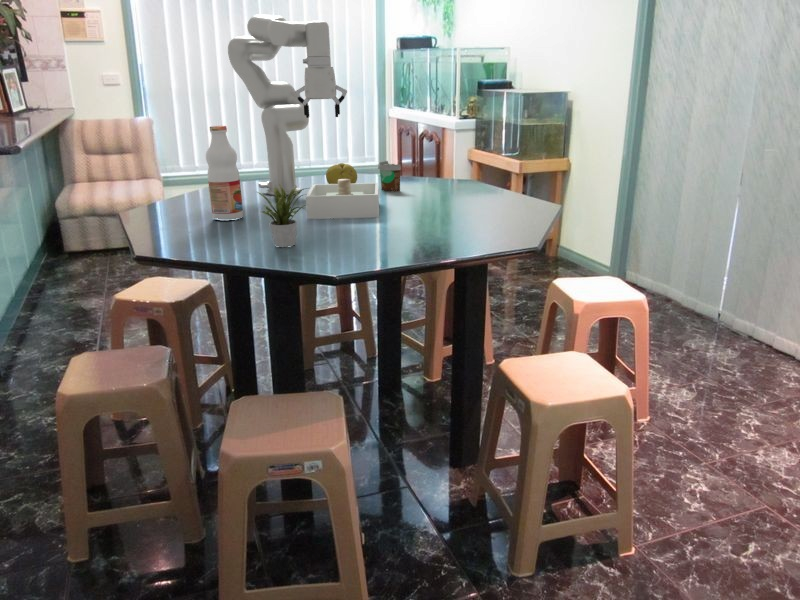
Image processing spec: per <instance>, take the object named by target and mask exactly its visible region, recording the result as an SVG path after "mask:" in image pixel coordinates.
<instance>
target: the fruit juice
mask: <svg viewBox="0 0 800 600" xmlns="http://www.w3.org/2000/svg"><path fill="white" fill-rule="evenodd" d="M209 132H210V135H211V140H210V145H209V146H208V149H207V150H206V153H205V160H206V163H207V166H208V169H207V182H208V191H209V192H208V193H209V197H210V199H209V200H210V205H211V207H210V208H211V215H212V219H213V218H218V219H236V218H241V217H243V218H244V207H243V197H242V196H243V195H242V189H241V179H240V172H239V168H238V167H237V160H238V155H237V152H236V150H235V149H234V148H233V147H232V145H231V144H230V142H229V139H228V135H227V132H228V128H227V125H211V126H209Z"/></svg>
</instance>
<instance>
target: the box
mask: <svg viewBox="0 0 800 600" xmlns="http://www.w3.org/2000/svg"><path fill="white" fill-rule="evenodd" d="M350 185H351V195H338V184H329V183H325V184H324V183H319V184H316V183H315V184H312V186H311V187H309V190H308V191H307V193H306V194H307V195H305V205H306V206H305V208H306V209H305V211H306V220H329V219H330V218H331V219H333V218H334V219H361V218H364V219H365V218H379V217H380V189H379V188H380V187H379V182H362V183H361V182H360V183H358V182H356V183H352V184H350Z"/></svg>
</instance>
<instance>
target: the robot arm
mask: <svg viewBox="0 0 800 600" xmlns="http://www.w3.org/2000/svg"><path fill="white" fill-rule="evenodd" d="M246 24H247V25H246V27H247V32H248V34H249V35H242V36H236V37H233V38H231V40H229V42H228V44H227V45H228V46H227V55H228V60H229V63H230V66H231V67H232V69H233V70H234V72H235V73H236V74H237V76H238V77H239V78H240V79H241V80H242V82H243V83H244V86H245V87H246V89H247V91H248V92H249V93H248V94H249V95H250V97H252V100H253V102H254V103H255V104H256V105H257V107H258V108H260V109H263V110H262V112H261V124H262V127H263V131H264V135H265V136H264V137H265V142H266V151H267V162H268V164H267V165H268V171H269V172H268V175H269V180H268V181H266V182H258V188H261V189H266V188H267V190H266V194H267V195H271V196H275V192H274V188H277V187H278V189H279V191H280V194H281V189H280V186H279V184H280V185H281V186H282V188H283V190H284V191H285V192H286V196H288V195H289V194H290V192H291V190H292V189H293V188H295V187H297V188H296V189H295V192H294V195H295V193H297V192H298V191H300V190H302V189H301V188H300V187H298V186H297V182H296V169H295V168H296V167H295V158H294V157H295V156H294V154H295V153H294V144H293V140H292V139H291V137H290V136H289V135H288V132H296V131H302V130H304V129H306V128H307V126H308V125H309V119H310V105H309V102H310V101H311V100H329V99H331V100H333V101H334V103H335V104H334V113H335V114H334V115H335V118H338V117H339V115H340V114H341V110H340V104H341V103H342V102H343V101H344V99H345V98H346V96H347V93H348V90H347V89H345V88H343V87H341V86H339V85H337V82H336V81H337V80H336V76H335V74H336V73H335V70H334V67H333V66H332V64H331V62H332V61H331V45H330V44H331V43H330V42H331V41H330V29H329V28H330V26H329V23H328V22H326V21H324V20H322V21H321V20H312V21H307V22H306V21H287V20H286V19H285V18H284V17H283V16H282V15H278V14H277V15H275V14H272V15H271V14H255V15H253V16H252V17H250V18H249V20H248V21H247V23H246ZM282 47H288V48H298V47H299V48H306V58H304V59H302V63H303V64H305V65H306V66H307V67H305V68H304V85H303V86H302V87H300V88H298V89H295V87H294V86H293V85H291V84H290V83H289V82H286V81H273V80H270V79H269V78H268V75H267V74H266V73H265V71H264V70H263V69H262V68H261V67H260V66H259V65H258V64H256V63H255V62H256V61H257V62H261V61H262V62H263V61H267V62H268V61H270V60H273V59H274V58H275V57H276V56H277V55H278V53H279V51H280V50H281V48H282ZM337 91H339V92H341V93H342V94H341V96H340V97H339V98H338V97H337ZM303 92H304V96H305V99H304V98H303V97H302V96H301V93H303ZM276 186H277V187H276ZM278 189H277V190H278Z"/></svg>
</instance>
